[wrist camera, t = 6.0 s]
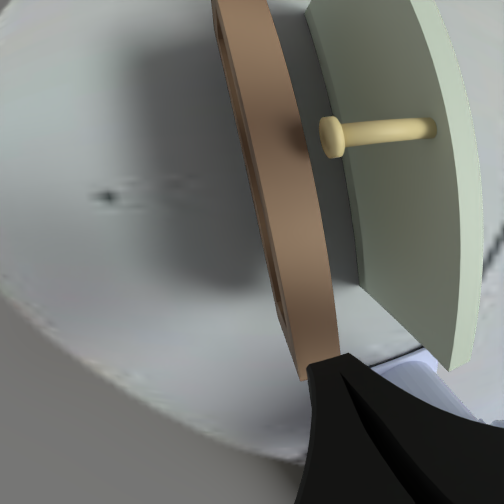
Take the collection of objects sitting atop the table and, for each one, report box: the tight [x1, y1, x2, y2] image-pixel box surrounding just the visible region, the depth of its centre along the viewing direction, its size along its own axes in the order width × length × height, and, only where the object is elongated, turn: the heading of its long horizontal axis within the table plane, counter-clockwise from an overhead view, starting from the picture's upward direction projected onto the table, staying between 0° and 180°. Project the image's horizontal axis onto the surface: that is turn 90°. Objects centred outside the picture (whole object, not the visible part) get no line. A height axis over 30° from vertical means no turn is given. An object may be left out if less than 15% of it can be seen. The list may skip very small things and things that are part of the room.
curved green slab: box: [304, 0, 483, 372], centre depth 12 cm, size 18×8×10 cm, turn 12°
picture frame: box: [211, 0, 340, 381], centre depth 12 cm, size 16×2×6 cm, turn 12°
